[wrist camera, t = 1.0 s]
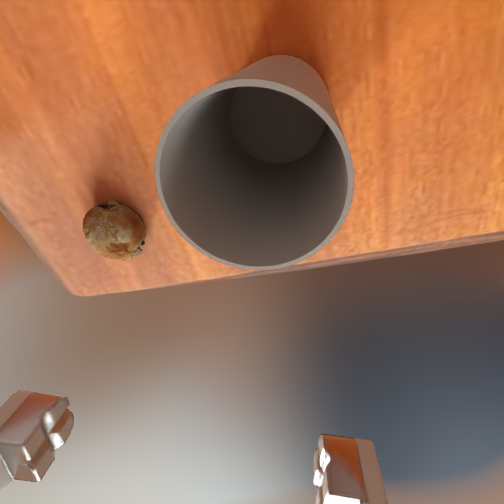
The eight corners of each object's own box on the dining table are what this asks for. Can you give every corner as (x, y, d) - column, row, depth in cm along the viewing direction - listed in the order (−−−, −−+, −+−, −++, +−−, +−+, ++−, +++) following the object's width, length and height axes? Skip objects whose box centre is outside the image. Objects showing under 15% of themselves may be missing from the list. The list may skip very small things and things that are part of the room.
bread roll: (146, 196, 54) (116, 195, 46) (159, 253, 55) (132, 262, 47) (99, 206, 56) (63, 207, 49) (113, 261, 58) (79, 270, 50)
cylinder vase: (350, 96, 38) (402, 168, 17) (289, 177, 45) (275, 295, 24) (266, 29, 35) (210, 21, 15) (214, 125, 42) (128, 210, 22)
